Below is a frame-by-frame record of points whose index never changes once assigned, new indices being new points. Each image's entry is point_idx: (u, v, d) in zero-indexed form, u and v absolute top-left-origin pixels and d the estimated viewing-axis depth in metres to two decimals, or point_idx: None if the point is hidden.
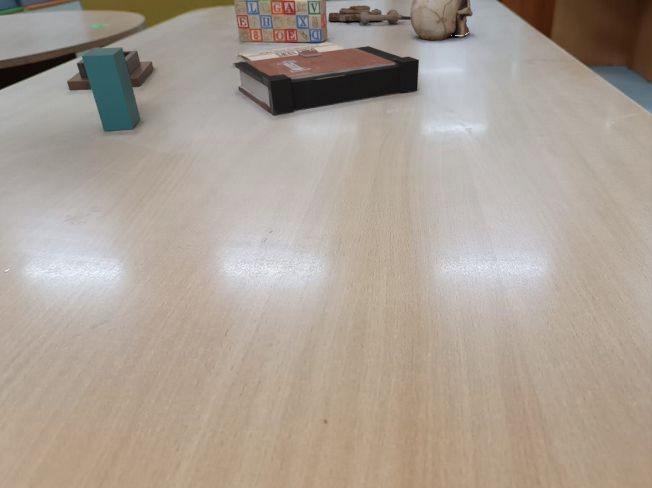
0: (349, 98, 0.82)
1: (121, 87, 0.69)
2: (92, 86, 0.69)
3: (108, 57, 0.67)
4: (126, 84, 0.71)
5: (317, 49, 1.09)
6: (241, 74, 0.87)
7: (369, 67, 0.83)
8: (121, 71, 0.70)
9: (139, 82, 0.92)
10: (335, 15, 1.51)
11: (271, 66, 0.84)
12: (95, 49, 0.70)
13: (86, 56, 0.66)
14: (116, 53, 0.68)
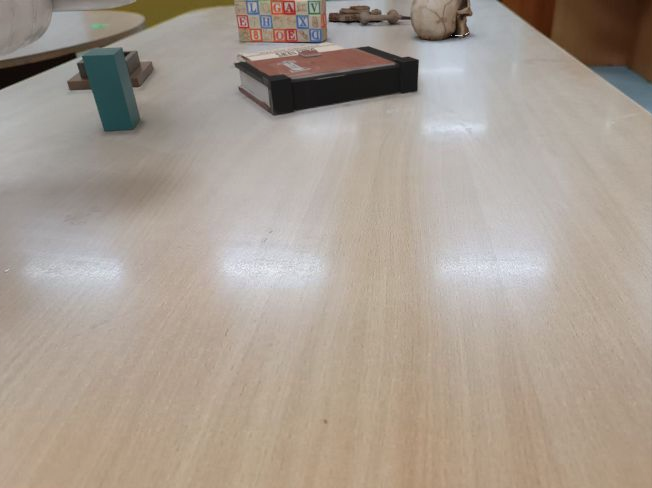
0: (349, 98, 0.82)
1: (121, 87, 0.69)
2: (92, 86, 0.69)
3: (108, 57, 0.67)
4: (126, 84, 0.71)
5: (317, 49, 1.09)
6: (241, 74, 0.87)
7: (369, 67, 0.83)
8: (121, 71, 0.70)
9: (139, 82, 0.92)
10: (335, 15, 1.51)
11: (271, 66, 0.84)
12: (95, 49, 0.70)
13: (86, 56, 0.66)
14: (116, 53, 0.68)
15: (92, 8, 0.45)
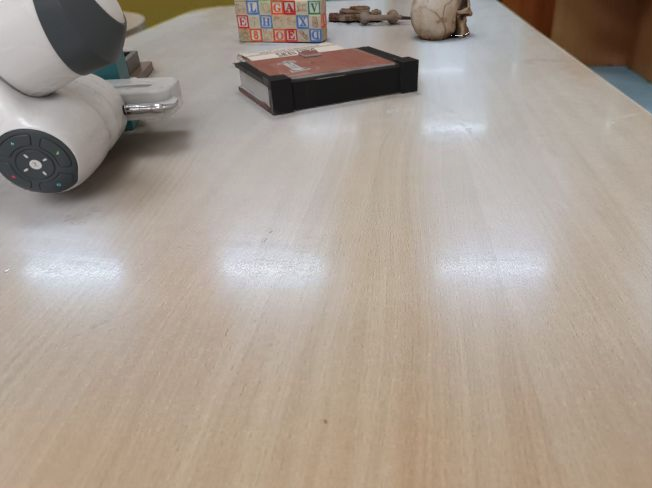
0: (349, 98, 0.82)
1: None
2: None
3: None
4: None
5: (317, 49, 1.09)
6: (241, 74, 0.87)
7: (369, 67, 0.83)
8: (121, 71, 0.70)
9: None
10: (335, 15, 1.51)
11: (271, 66, 0.84)
12: None
13: None
14: None
15: (154, 118, 0.64)
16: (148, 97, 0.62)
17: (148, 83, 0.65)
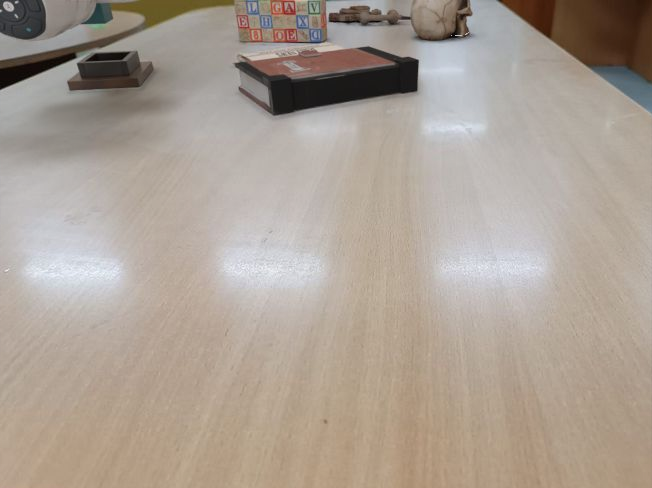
0: (349, 98, 0.82)
1: None
2: None
3: None
4: None
5: (317, 49, 1.09)
6: (241, 74, 0.87)
7: (369, 67, 0.83)
8: None
9: (139, 82, 0.92)
10: (335, 15, 1.51)
11: (271, 66, 0.84)
12: None
13: None
14: None
15: (121, 1, 0.72)
16: None
17: None
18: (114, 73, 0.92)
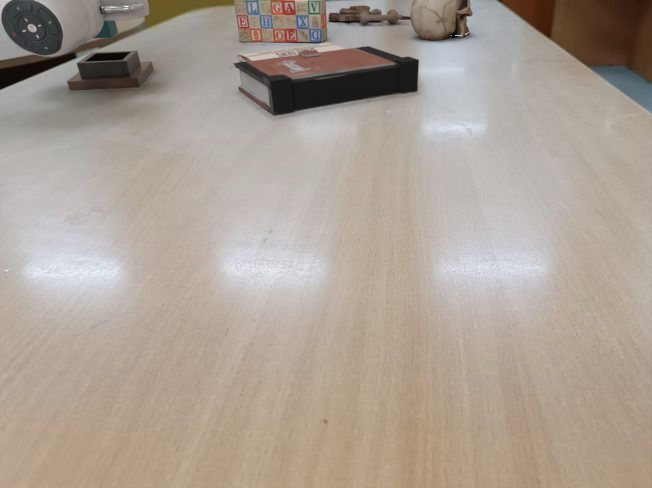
0: (349, 98, 0.82)
1: None
2: None
3: None
4: None
5: (317, 49, 1.09)
6: (241, 74, 0.87)
7: (369, 67, 0.83)
8: None
9: (139, 82, 0.92)
10: (335, 15, 1.51)
11: (271, 66, 0.84)
12: None
13: None
14: None
15: (125, 19, 0.82)
16: (120, 1, 0.81)
17: None
18: (114, 73, 0.92)
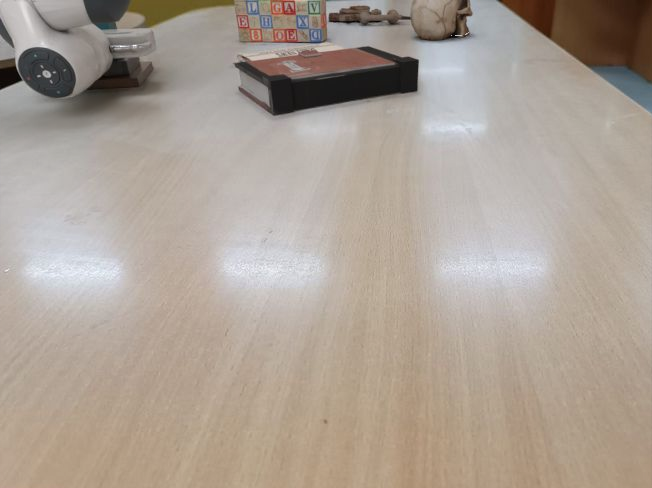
0: (349, 98, 0.82)
1: None
2: None
3: None
4: None
5: (317, 49, 1.09)
6: (241, 74, 0.87)
7: (369, 67, 0.83)
8: (111, 27, 0.92)
9: (139, 82, 0.92)
10: (335, 15, 1.51)
11: (271, 66, 0.84)
12: None
13: None
14: None
15: (133, 56, 0.86)
16: (128, 40, 0.84)
17: (129, 31, 0.87)
18: (114, 73, 0.92)
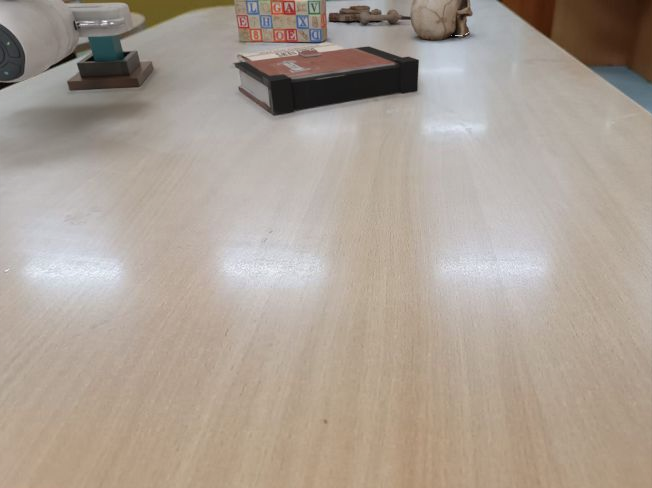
0: (349, 98, 0.82)
1: (111, 39, 0.91)
2: (89, 38, 0.91)
3: None
4: (115, 38, 0.93)
5: (317, 49, 1.09)
6: (241, 74, 0.87)
7: (369, 67, 0.83)
8: None
9: (139, 82, 0.92)
10: (335, 15, 1.51)
11: (271, 66, 0.84)
12: None
13: None
14: None
15: (104, 35, 0.72)
16: (97, 15, 0.71)
17: (99, 5, 0.73)
18: (114, 73, 0.92)
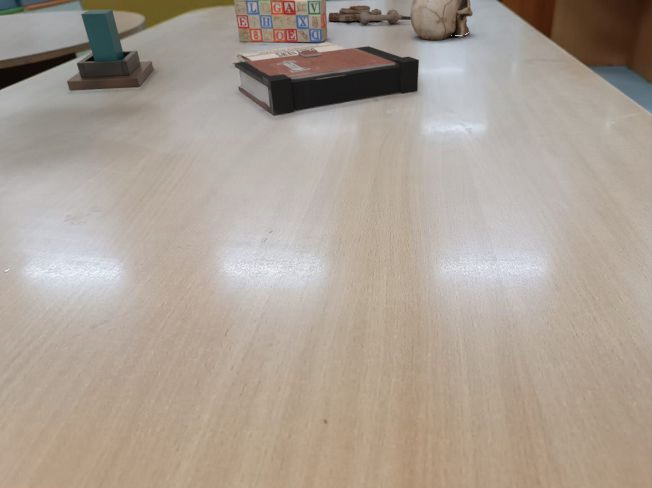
0: (349, 98, 0.82)
1: (111, 39, 0.91)
2: (89, 38, 0.91)
3: (101, 15, 0.89)
4: (115, 38, 0.93)
5: (317, 49, 1.09)
6: (241, 74, 0.87)
7: (369, 67, 0.83)
8: (111, 27, 0.92)
9: (139, 82, 0.92)
10: (335, 15, 1.51)
11: (271, 66, 0.84)
12: (91, 10, 0.92)
13: (84, 14, 0.88)
14: (107, 13, 0.90)
15: None
16: None
17: None
18: (114, 73, 0.92)
